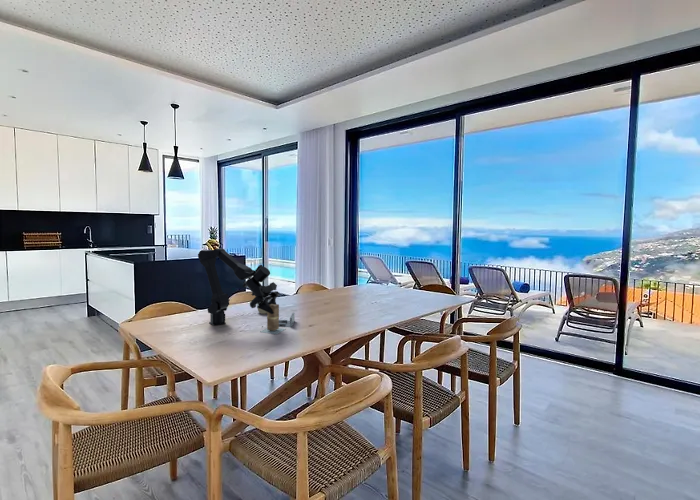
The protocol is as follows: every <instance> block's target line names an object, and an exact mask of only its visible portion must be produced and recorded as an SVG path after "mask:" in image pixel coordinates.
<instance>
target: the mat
mask: <svg viewBox="0 0 700 500" xmlns="http://www.w3.org/2000/svg"><path fill="white" fill-rule="evenodd" d="M285 330H286V328H282V327H279V329H277V330H275V331H273V330H267V328H265V329H262V330H260V333H265V334H272V335H277V334H279V333H282V332H284V331H285Z"/></svg>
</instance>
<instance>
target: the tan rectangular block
mask: <svg viewBox="0 0 700 500" xmlns="http://www.w3.org/2000/svg"><path fill="white" fill-rule="evenodd" d="M269 306H270V307H271V309H272V310H273V312H274V313H273V314H271V313H269V312H267V315H266V319H267V321H266V329H267V330H273V331H275V330H277V329H279V328H280V327H279V320H280V319H279V318H280V305H279V304H277V303H276V304H270V305H269Z"/></svg>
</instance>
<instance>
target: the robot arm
mask: <svg viewBox="0 0 700 500" xmlns="http://www.w3.org/2000/svg"><path fill="white" fill-rule="evenodd" d="M197 257H198V260H199V262H200V264H201V266H203V267H204V270H205V273H206V275H207V279H208V283H209V287H210V290H211V297H210V298H211V301H210V303H211V304H210V306H209V307H208V308H206V310H207V313H208V314H210V315H209V316H210V321H209V322H208V323H209V324H211V325H212V326H219V325H225V324H227V322H226V313H225V312H226V311H227V310H228V307H229V305H230V299H229V295H228V293H225V292H223V290H222V286H221V282H220V279H219V275H218V272H217V267H216V262H217V258H218V259H219V260H220V261H222V262H223V264H225V265H227V266H228V267H229V268H230V269H231V270H232V271H233V274H234V275H235V277H236V278H237V279H238V280H240V281H242V280H245V281H243V282H242V288H248V289H249V290H250V292H251V296H252V297H253V296H254V298H253V299H252V300H251V301H250V302H249V306H250V308H251V309H255V308H260V309H262V310H264V311H266V312H269V313H271V314H273V313H274V312H273V310H272V309H271V307H270V306H269V305H270V304H277V301H276V299H277V298H278V297H279V296H280V295H281V294H280V292H279V291H277V288H278V287H277V285H278V284H276V283H275V282H274V281H273V282H271V283H269V284H268V285H262V283H263V282H264V281H265V280H267V278H268V277H269V276H270V275H271V272H270V270H269V269H268V268H267V267H265V266H263V265H262V264H259V265H258V266H257V268H256V269H255V270H254V269H252V268H251V267H249V266H248V265H245V264H243V263H240V261H238V260H237V259H236V258H235V257H233V255H231V254H229V253H228V252H227V251H226V250H225V248H215V249H202V250H199V252H198V254H197ZM257 304H258V305H259V306H258V307H257Z"/></svg>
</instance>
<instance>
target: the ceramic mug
mask: <svg viewBox="0 0 700 500" xmlns="http://www.w3.org/2000/svg"><path fill="white" fill-rule="evenodd" d="M258 306H259V305H258V304H256V308H257V307H258ZM257 312H258V313H259V314H261V315H266V314H267V312H266V311H264V310H262V309H260V308H257Z"/></svg>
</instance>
